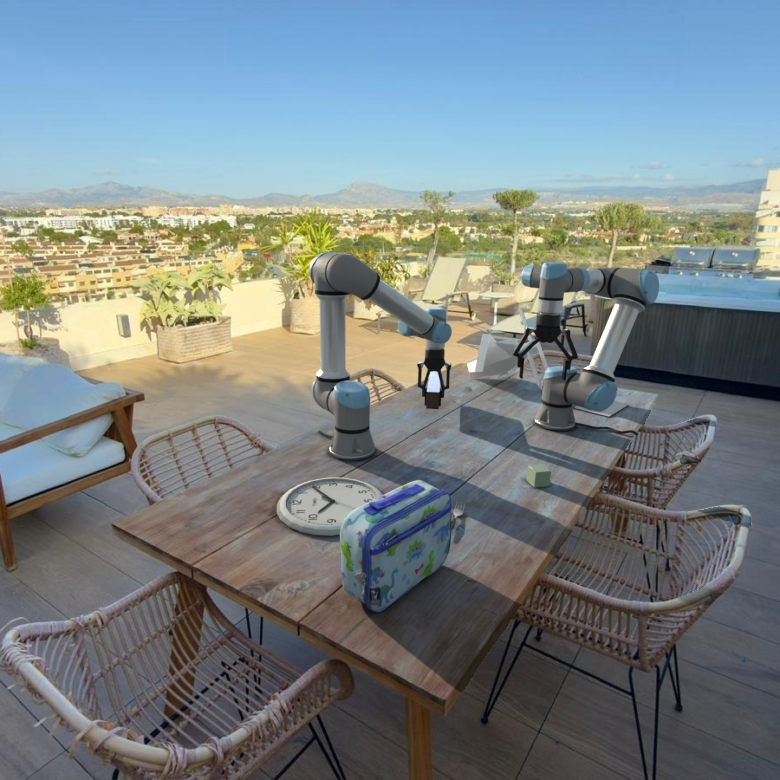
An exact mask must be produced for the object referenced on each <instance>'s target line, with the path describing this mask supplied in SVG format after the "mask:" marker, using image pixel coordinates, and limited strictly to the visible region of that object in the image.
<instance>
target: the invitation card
mask: <svg viewBox="0 0 780 780" xmlns="http://www.w3.org/2000/svg"><path fill="white" fill-rule="evenodd" d="M628 406H629V404H627V403H623V402H618V401H614V402H613V403H612V405H611V406H610V407H609V408H608V409H606V410H604V411H601V412H597V411H593V410H588V409H586V408H583V407H580V406H576V405H575V406H574V407H573V409H575V410H581V411H584V412H587V413H593V414H596V415H600V416H604V417H608V418H609V417H611V416H613V415H614V414H616V413H617V412H619V411H621V410H623V409H624V408H626V407H628Z"/></svg>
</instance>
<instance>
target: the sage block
mask: <svg viewBox="0 0 780 780" xmlns="http://www.w3.org/2000/svg"><path fill="white" fill-rule="evenodd" d="M551 474H552V470H551V469H550V468H548V467H547V466H546V465H545V464H544V463H538V464H528V465H527V471H526V481H527V482H528V483H529V485H531V487H532V488H535V489H536V488H543V487H545V488H546V487H550V484H551V476H552V475H551Z"/></svg>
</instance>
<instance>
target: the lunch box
mask: <svg viewBox="0 0 780 780" xmlns="http://www.w3.org/2000/svg"><path fill="white" fill-rule="evenodd" d="M383 494H384V495H382V496H380V497H378V498H376V499H374V500H372V501H370V502H368V503H366V504H364V505H362V506H360V507H358V508H356V509H354V510H353V511H351V512H350V513H349V514H348V515H347V516H346V518H345V519H344V521H343V523H342V526H341V530H340V535H339V551H340V574H341V576H340V577H341V585H342V588H343V589H342V590H343V591H344V593H346V594H348V595H350V596H352V597H353V598H355V599H357V600H358V601H359V602H361V603H362V604H364V605H365V606H366V608H367V609H369V610H370V611H371V612H374V613H381V612H384V611H385V610H386V609H387V608H389V607H390V606H391V605H392V604H393V603H395V602H396V601H397V600H399V599H400V598H401V597H402V596H404V595H405V594H407V593H408V592H410V591H411V590H412V589H413V588H415V587H416V586H417V585H418V584H419V583H420V582H421V581H423V580H425V579H426V578H427V577H429V576H430V575H432V574H434V573H435V572H436V571H438V570H439V569H440V568H441V567H442V566H443V565H444V563H445V562H446V560H447V558H448V556H449V553H450V550H451V549H450V548H451V545H452V543H451V542H452V530H451V522H452V497H451V494H450V492H449V491H448V490H446V489H438V488H437V487H435V486H434V485H431V484H429V483H427V482H426V481H424V480H421V479H416V480H413V481H410V482H408V483H405V484H403V485H401V486H399V487H397V488H394V489H393V490H390V491H388V492H387V493H383Z"/></svg>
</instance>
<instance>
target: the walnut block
mask: <svg viewBox="0 0 780 780" xmlns="http://www.w3.org/2000/svg"><path fill="white" fill-rule="evenodd" d="M426 388H427V394H426V406H425V409H427V410H439V409H440V406H439V394H440V389H441V385H440V380H439V376H438V372H435V371H433V372H430V375H429V378H428V381H427V386H426Z"/></svg>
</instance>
